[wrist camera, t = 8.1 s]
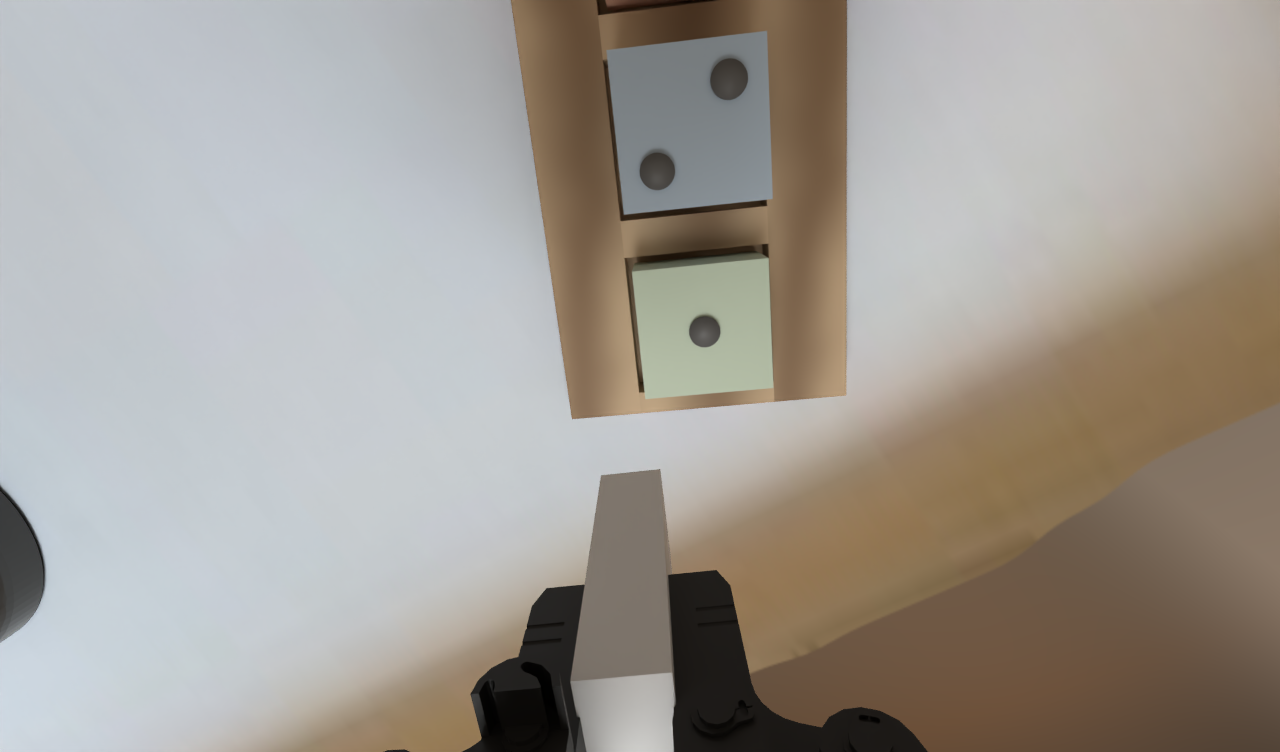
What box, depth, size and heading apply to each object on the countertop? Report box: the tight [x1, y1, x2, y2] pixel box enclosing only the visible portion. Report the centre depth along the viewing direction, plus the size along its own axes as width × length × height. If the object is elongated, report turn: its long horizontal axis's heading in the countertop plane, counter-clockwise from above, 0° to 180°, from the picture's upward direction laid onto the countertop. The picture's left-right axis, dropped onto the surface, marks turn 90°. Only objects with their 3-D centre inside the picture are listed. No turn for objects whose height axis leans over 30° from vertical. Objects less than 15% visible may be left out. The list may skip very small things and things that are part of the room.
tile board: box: [511, 0, 847, 419], centre depth 28 cm, size 14×26×2 cm, turn 6°
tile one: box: [632, 251, 773, 399], centre depth 28 cm, size 6×6×3 cm
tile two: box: [606, 31, 773, 215], centre depth 24 cm, size 6×6×3 cm
